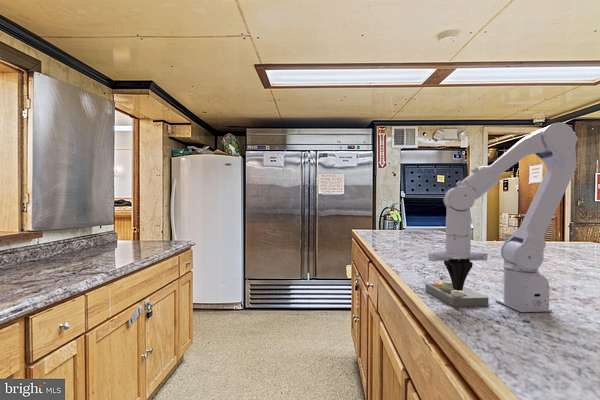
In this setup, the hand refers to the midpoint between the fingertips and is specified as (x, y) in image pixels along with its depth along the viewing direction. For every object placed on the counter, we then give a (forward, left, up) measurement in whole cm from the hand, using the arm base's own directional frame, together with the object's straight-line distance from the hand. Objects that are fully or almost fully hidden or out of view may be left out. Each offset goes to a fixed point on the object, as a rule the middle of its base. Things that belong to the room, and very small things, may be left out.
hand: (457, 289), depth 93 cm
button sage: (+5, 0, -2) cm, 5 cm away
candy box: (+22, -32, -3) cm, 39 cm away
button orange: (+9, 0, -3) cm, 9 cm away
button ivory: (0, 0, -3) cm, 3 cm away
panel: (+4, -1, -3) cm, 5 cm away
